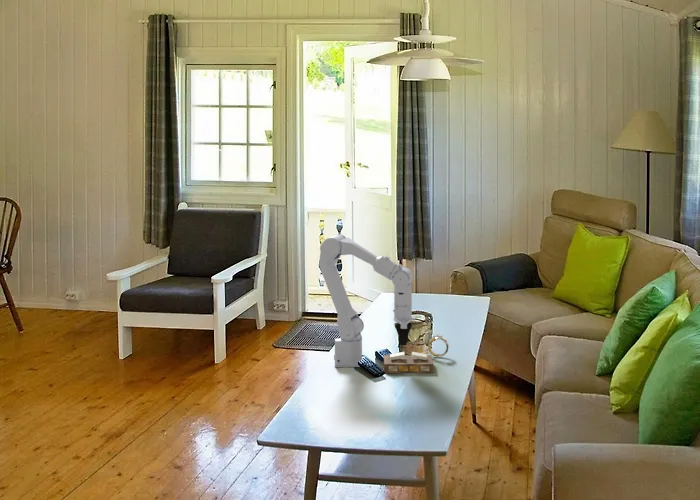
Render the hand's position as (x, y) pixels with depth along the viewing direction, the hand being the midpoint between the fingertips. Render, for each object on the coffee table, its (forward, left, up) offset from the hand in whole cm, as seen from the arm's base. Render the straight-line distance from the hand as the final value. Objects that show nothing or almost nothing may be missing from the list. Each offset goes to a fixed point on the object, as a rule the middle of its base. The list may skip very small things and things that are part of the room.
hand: (403, 344), depth 278 cm
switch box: (+2, 0, -8) cm, 8 cm away
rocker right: (+5, 0, -4) cm, 7 cm away
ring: (+13, +13, -8) cm, 20 cm away
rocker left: (-2, 0, -4) cm, 5 cm away
